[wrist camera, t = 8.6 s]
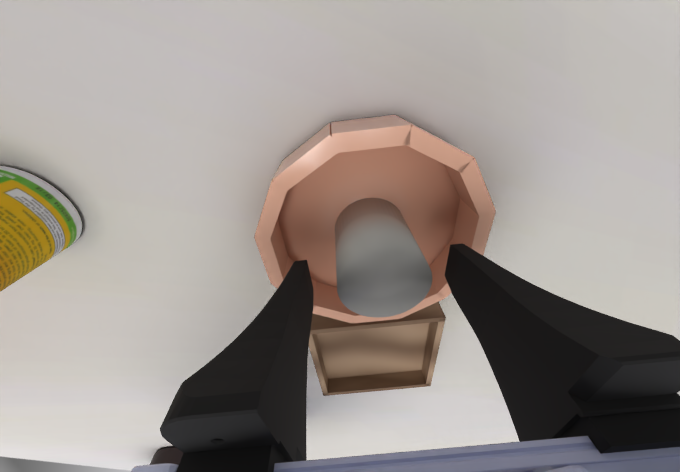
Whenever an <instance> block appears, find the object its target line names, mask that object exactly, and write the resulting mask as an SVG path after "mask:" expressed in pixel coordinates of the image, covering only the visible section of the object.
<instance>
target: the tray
mask: <svg viewBox="0 0 680 472" xmlns="http://www.w3.org/2000/svg"><path fill="white" fill-rule="evenodd" d="M445 318H446V317H445V315H444V313H443V311H442V309H441V306H440V304H439V302H436V303H434V304H432V305H430V306H427V307H425V308H423V309H421V310H419V311H416V312H414V313H412V314H410V315H408V316H405V317H403V318H400V319H393V320H383V321H373V322H363V323H348V322H344V321H341V320H337V319H333V318H329V317H325V316H321V315H317V314H312V322H311V330H310V338H309V348H310V352H311V355H312V358H313V362H314V365H315V368H316V372H317V375H318V379H319V382H320V385H321V389H322V392H323V395H324V396H327V395H338V394H349V393H359V392H370V391H381V390H392V389H403V388H414V387H425V386H431V381H432V377H433V372H434V367H435V363H436V358H437V354H438V349H439V345H440V340H441V336H442V331H443V327H444V322H445Z"/></svg>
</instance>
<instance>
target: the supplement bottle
mask: <svg viewBox="0 0 680 472" xmlns="http://www.w3.org/2000/svg"><path fill="white" fill-rule="evenodd" d="M81 232H82V222H81V218H80V215H79V213H78V212H77V210H76V208H75V207H74V206H73V204H72V203H71V202H70V201H69V200H68V199H67V198H66V197H65V196H64V195H63V194H62V193H61V192H59V191H58V190H57V189H56V188H54V187H53V186H52V185H50V184H49V183H47V182H45V181H44V180H42V179H40V178H38V177H36V176H34V175H32V174H30V173H27V172H25V171H22V170H18V169H15V168H11V167H5V166H0V291H2V290H3V289H5V288H6V287H8V286H9V285H11V284H12V283H14V282H15V281H17V280H19V279H20V278H22V277H23V276H25V275H26V274H28V273H29V272H31V271H32V270H34V269H35V268H37V267H38V266H40V265H42V264H43V263H45V262H46V261H48V260H49V259H51V258H52V257H54V256H55V255H57V254H58V253H60V252H61V251H63V250H64V249H66V248H67V247H69V246H70V245H72V244H73V243H74V242H75V241H76V240H77V239H78V238H79V237H80V234H81Z"/></svg>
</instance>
